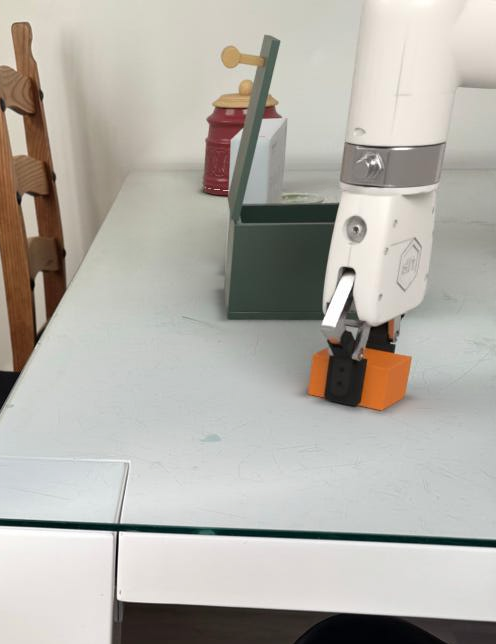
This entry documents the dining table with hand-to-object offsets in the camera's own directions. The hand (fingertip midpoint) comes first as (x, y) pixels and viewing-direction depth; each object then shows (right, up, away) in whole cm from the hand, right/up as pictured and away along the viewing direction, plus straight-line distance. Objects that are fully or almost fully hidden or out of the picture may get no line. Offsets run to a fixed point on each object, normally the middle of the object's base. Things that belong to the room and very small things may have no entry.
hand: (356, 391), depth 88 cm
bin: (+2, +17, +26) cm, 31 cm away
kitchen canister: (+10, +59, +93) cm, 110 cm away
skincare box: (+2, +30, +47) cm, 56 cm away
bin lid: (-5, +32, +17) cm, 37 cm away
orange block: (0, 0, 0) cm, 0 cm away
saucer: (+14, +47, +73) cm, 88 cm away
